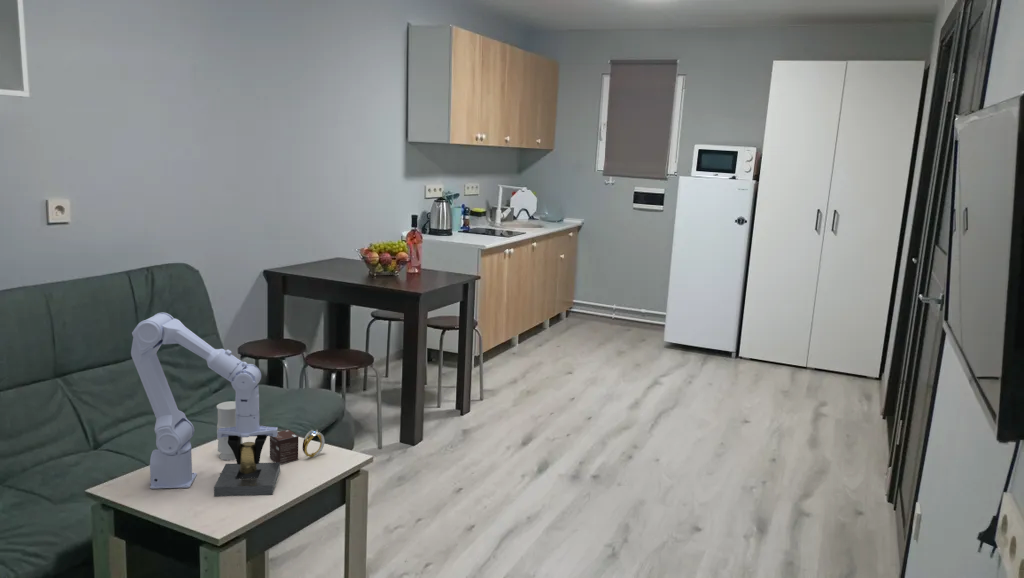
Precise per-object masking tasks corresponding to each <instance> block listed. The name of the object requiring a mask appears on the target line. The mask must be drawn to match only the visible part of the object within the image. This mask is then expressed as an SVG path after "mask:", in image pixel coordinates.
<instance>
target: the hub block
mask: <svg viewBox="0 0 1024 578" xmlns="http://www.w3.org/2000/svg"><path fill="white" fill-rule="evenodd" d="M256 466H257V470H256V471H255V472H253V473H249V474H244V473H241V472H240V464H239V465H237V462H236V463H235V462H234V463H225V464H224V467H223V468H222V470H221V472H220V474H219V476H218V478H217V480H216V482H215V483H214V486H213V497H230V496H231V497H237V496H238V497H239V496H241V497H242V496H269V495H270V496H271V495H273V494H274V491H275V488H276V485H277V483H278V479H279V475H280V474H281V473H280V472H281V464H280V462H274V461H273V462H259V464H256Z"/></svg>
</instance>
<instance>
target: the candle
mask: <svg viewBox="0 0 1024 578" xmlns="http://www.w3.org/2000/svg"><path fill="white" fill-rule="evenodd" d="M216 409H217V424H216V432H217V431H218V429H219V428H229V427H236V405H235V400H234V401H233V400H232V401H231V400H229V401H223V402H220V403H218V404H217V405H216ZM243 438H244V437H241V444H242V443H244V442H243ZM216 439H217V452H218V453H219V456H218V458H219V459H221V460H223V461H233V460H236V458H235V455H234V453H233V451H232V449H231V447H230V446H229V445H228V437H222V438H217V437H216Z"/></svg>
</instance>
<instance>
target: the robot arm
mask: <svg viewBox="0 0 1024 578" xmlns="http://www.w3.org/2000/svg"><path fill="white" fill-rule="evenodd" d="M131 334H132V337H133V338H132V343H131V350H130V356H131V359H132V361H133V364H134V366H135V368H136V370H137V371H136V372H137V374H138V375H139V378H140V381H141V384H142V386H143V388H144V391H145V394H146V397H147V399H148V401H149V404H150V407H151V409H152V412H153V414H154V416H155V418H156V419H155V425H154V433H155V437H156V439H155V445H156V448H157V449H153V450H152V452H151V455H150V458H149V459H150V460H149V471H150V472H149V474H150V485H149V486H150V487H149V489H152V490H153V489H185V488H186V489H187V488H190V487H191V485H192V484H193V482H194V481H195V479H196V477H197V476H198V473H197V472H193V462H192V461H193V460H192V459H193V458H192V457H193V456H192V444H191V439H192V438H193V437H194V434H195V426H194V425H193V423H192V422H191V421H190V420H189V419H188V418H187V416H186V414H185V412H183V411H181V410H179V409H178V406H177V403H176V400H175V398H174V395H173V393H172V390H171V388H170V385H169V382H168V379H167V377H166V375H165V371H164V369H163V367H162V364H161V362H160V360H159V357H158V354H157V352H158V351H159V349H160V348H161V346H162V345H172V344H173V345H174V344H176V345H177V344H178V345H179V346H181V347H184V348H185V349H186V350H189V352H191V353H194V354H195V355H197V356H198V357H200V358H202V359H204V360H205V361H206V364H207V367H208V368H209V369H211V370H212V371H213V372H215V373H216V374H218V375H219V376H221V377H222V378H224V379H225V380H227V381H229V382H230V384H231V387H232V389H233V390H234V391H235V399H234V401H235V405H236V427H229V428H219V429H218V431H217V430H216V435H217V437H216V439H217V438H222V437H228V445H229V446H230V447H231V449H232V451H233V453H234V455H235V458H236V459H235V461H236V463H237V465H239V464H240V444H241V437H243V438H250V437H256V438H255V439H254V443H255V447H256V460H255V461H256V464H259V463H261V456H262V455H261V454H262V451H263V447H264V445H265V442H266V440H267V438H268V437H270V436H272V437H277V435H278V432H279V431H278V430H279V429H278V426H277V427H276V426H264V425H260V393H259V392H260V390H259V389H260V388H259V383H260V381H261V380H262V372H261V370H260V368H259V367H258V366H257V365H255V364H253V363H248V362H246V361H243V360H241V359H239V358H238V357H236V356H235V355H234V354H232V353H233V352H232V350H230V349H224V348H215V347H213V346H212V345H210V344H209V343H207V342H206V341H205V340H204V339H202V338H201V337H200V336H198V335H197V334H196V333H194V332H193V331H191V330H190V329H189V328H188V327H186V326H185V325H184V324H183V322H181V320H179V319H178V318H174V317H173V316H172V315H171V314H170V313H167V312H158V313H155V314H154V315H153V316H151V317H149V318H147V319H145V320H144V319H143V320H142V321H140V322H139V323H138V324H137V325H136V326H135V327H134V329H133V331H132V332H131Z"/></svg>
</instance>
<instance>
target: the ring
mask: <svg viewBox="0 0 1024 578" xmlns="http://www.w3.org/2000/svg"><path fill="white" fill-rule="evenodd" d="M316 436H317V438H318V440H319V441H320V442H319V448H318V449H317V450H316V451H315V452H312V453H310V454H309V452H308V449H307V448H308V445H309V443H310V442H311V441H312V440H313V439H314V437H316ZM324 446H325V437H324V434H323V433H321V432H319V431H318V429H316V430H315V431H314V429H311V430H309V431H307V433H306V435H305V436H304V439H303V442H302V452H303V454H304V455H306V456H307V457H309V458H315V457H317V456H318V455H319V454H320V453H321V452H322V451H323V449H324Z"/></svg>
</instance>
